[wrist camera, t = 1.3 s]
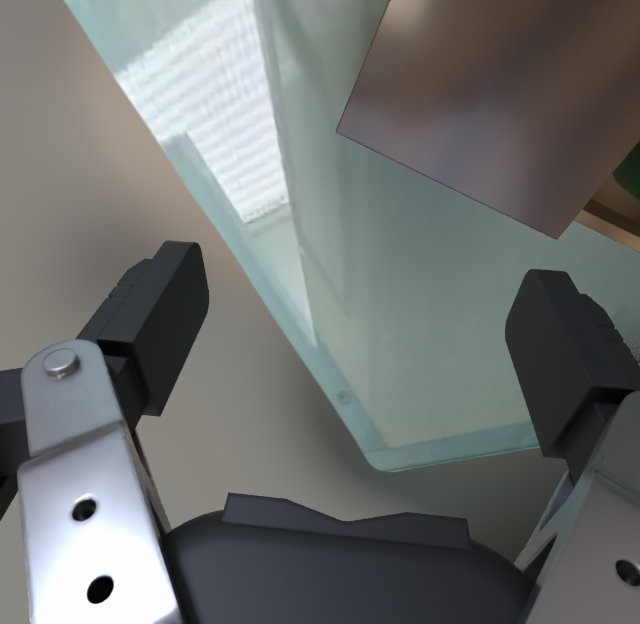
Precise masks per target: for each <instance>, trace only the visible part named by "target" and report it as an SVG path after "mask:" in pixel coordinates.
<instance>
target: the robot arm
mask: <svg viewBox="0 0 640 624" xmlns="http://www.w3.org/2000/svg"><path fill="white" fill-rule="evenodd" d="M208 307H209V289H208V285H207V279H206V273H205V268H204V262H203V257H202V252H201V248H200V246H199V244H198V243H195V242H181V241H169V240H168V241H165V242H164V243H163V245H162V246H161V247H160V249H159V250H158V252H157V253H156V255H155V256H154V257H153V259H144V260H142V261H141V262H139V263H138V264H136V265H135V266H133V267H132V268H130V269H128V270H127V272H126V273H125V274H124V275H123V277H122V278H121V279H120V281H119V282H118V283H117V287H114V289H113V290H112V291H111V293H110V294H109V298H106V299H105V300H104V302H103V303H102V305H101V306H100V307H99V308H98V310H97V311H96V312H95V314H94V315H93V316H92V318H91V319H90V320H89V322H88V323H87V324H86V326H85V327H84V328H83V330H82V331H81V332H80V333H79V335H78V336H77V338H76V339H75V340H67V341H62V342H59V343H56V344H53V345H51V346H49V347H47V348H45V349H43V350H41V351H40V352H38V353H37V354H35V355H34V356H33V357H32V358H31V359H30V360H29V361H28V362H27V363H26V365H25V366H24V368H18V369H11V370H4V371H0V521H1V519H2V517H3V516H4V514H5V512H6V510H7V509H8V507H9V505H10V504H11V502H12V500H13V499H14V497H15V495H16V493H17V492H19V503H20V514H21V524H22V536H23V547H24V557H25V569H26V579H27V591H28V602H29V613H30V624H640V366H639V364H638V363H637V361H636V359H635V358H634V356H633V355H632V353H631V351H630V350H629V348H628V347H627V345H626V343H623V339H622V337H621V335H620V334H619V332H618V331H617V329H614V327H615V326H614V324H613V323H612V321H611V319H610V318H609V316H608V315H607V313H606V311H605V310H604V309H603V308H602V307H601V306H600V305H598V304H597V303H596V302H595V301H594V300H592V299H591V298H590V297H589V296H588V295H586V294H579V292H578V290H577V288H576V287H575V285H574V283H573V282H572V280H571V278H570V276H569V275H568V274H567V273H566V272H564V271H552V270H539V269H530V270H529V271H528V272H527V273H526V275H525V277H524V279H523V281H522V284H521V286H520V288H519V291H518V293H517V296H516V298H515V300H514V303H513V305H512V308H511V310H510V312H509V315H508V317H507V321H506V326H505V339H506V343H507V346H508V349H509V352H510V356H511V359H512V362H513V365H514V368H515V371H516V374H517V377H518V380H519V383H520V386H521V389H522V392H523V395H524V398H525V401H526V405H527V408H528V411H529V414H530V417H531V420H532V423H533V426H534V429H535V432H536V435H537V438H538V441H539V444H540V447H541V450H542V453H543V457H551V458H562V459H566V462H567V465H568V468H569V469H568V471H567V472H566V473H565V474H564V476H563V477H562V479H561V481H560V483H559V485H558V487H557V489H556V491H555V493H554V494H553V497H552V499H551V500H550V502H549V504H548V506H547V508H546V510H545V512H544V514H543V516H542V517H541V519H540V521H539V523H538V525H537V527H536V529H535V531H534V532H533V534H532V536H531V538H530V540H529V541H528V543H527V545H526V547H525V548H524V550H523V551H522V553H521V554H520V556H519V557H518V558H517V560H516V562H515V563H514V564H513V563H511V562H510V561H509V560H508V559H507V558H505V557H504V556H502V555H501V554H499V553H498V552H496V551H494V550H493V549H492V548H490V547H488V546H485V545H484V544H482V543H480V542H478V541H476V540H473V539H471V538H470V537H469V530H468V523H467V519H462V518H453V517H445V516H436V515H426V514H418V513H409V512H405V513H399V514H393V515H387V516H381V517H374V518H368V519H361V520H355V521H341V520H338V519H336V518H333V517H330V516H328V515H325V514H323V513H320V512H318V511H315V510H313V509H310V508H307V507H305V506H302V505H300V504H297V503H295V502H292V501H290V500H287V499H282V498H273V497H264V496H254V495H245V494H236V493H228V497H227V501H226V504H225V508H224V510H220V511H215V512H211V513H208V514H204V515H201V516H199V517H196V518H194V519H192V520H189V521H187V522H185V523H183V524H182V525H180V526H178V527H176V528H174V529H173V530H172V528H171V526H170V523H169V521H168V518H167V515H166V513H165V510H164V508H163V505H162V503H161V500H160V497H159V494H158V491H157V488H156V485H155V483H154V480H153V477H152V474H151V471H150V468H149V465H148V462H147V459H146V456H145V453H144V450H143V447H142V444H141V441H140V438H139V435H138V432H137V430H136V426H137V423H138V422H139V420H140V418H141V416H142V415H149V416H159V417H160V416H161V414H162V411H163V409H164V407H165V405H166V403H167V400H168V398H169V396H170V394H171V392H172V390H173V387H174V385H175V383H176V381H177V379H178V376H179V374H180V372H181V370H182V368H183V365H184V363H185V361H186V359H187V357H188V354H189V352H190V350H191V348H192V346H193V343H194V341H195V339H196V337H197V335H198V332H199V330H200V328H201V326H202V324H203V322H204V319H205V317H206V314H207V311H208Z"/></svg>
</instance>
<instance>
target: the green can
mask: <svg viewBox="0 0 640 624" xmlns="http://www.w3.org/2000/svg"><path fill="white" fill-rule="evenodd" d="M612 174H613V177H614V179H615V181H616V182H617V183H618V184H619V185H620V186H621V187H622V188H623V189H625V190H626V191H627V192H628V193H630V194H631V195H632V196H633V197H635V198H636V199H637V200H639V201H640V141H639V142H638V143H637V145H636V146H635V147H634V148H633V149H632V151H631V152H630V153H629V154H628V155H627V156H626V158H625V159H624V160H623V161H622V162H621V164H620V165H619V166H618V167H617V168H616V170H615V171H614V172H613V173H612Z"/></svg>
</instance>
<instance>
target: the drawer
mask: <svg viewBox="0 0 640 624" xmlns="http://www.w3.org/2000/svg"><path fill="white" fill-rule="evenodd" d="M574 220H575V221H577V222H579V223H581V224H583V225H585V226H587V227H589V228H591V229H593V230H595V231H597V232H599V233H601V234H603V235H605V236H607V237H609V238H611V239H613V240H615V241H617V242H620V243H622V244H624V245H626V246H628V247H630V248H632V249H634V250H636V251H638V252H640V201H639V200H637V199H636V198H635V197H633V196H632V195H631V194H630V193H628V192H627V191H626V190H625V189H623V188H622V187H621V186H620V185H619V184H618V183H617V182H616V181H615V179H614V177H613V174H611V176H610V177H609V178H608V179H607V180H606V182H605V183H604V184H603V185H602V186H601V188H600V189H599V190H598V191H597V192H596V193H595V195H594V196H593V197H592V198H591V199H590V201H589V202H588V203H587V204H586V205H585V207H584V208H583V209H582V210H581V211H580V213H579V214H578V215H577V216H576V217H575V219H574Z"/></svg>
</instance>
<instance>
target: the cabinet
mask: <svg viewBox="0 0 640 624" xmlns="http://www.w3.org/2000/svg"><path fill="white" fill-rule="evenodd" d="M336 133H339V134H341V135H343V136H345V137H347V138H349V139H351V140H353V141H355V142H357V143H359V144H361V145H363V146H365V147H367V148H369V149H371V150H373V151H375V152H377V153H380V154H382V155H384V156H386V157H388V158H390V159H392V160H394V161H396V162H398V163H400V164H402V165H404V166H406V167H408V168H410V169H412V170H414V171H416V172H419V173H421V174H423V175H425V176H427V177H429V178H431V179H433V180H435V181H437V182H439V183H441V184H443V185H445V186H447V187H449V188H451V189H453V190H455V191H457V192H460V193H462V194H464V195H466V196H468V197H470V198H472V199H474V200H476V201H478V202H480V203H482V204H484V205H486V206H488V207H490V208H492V209H494V210H496V211H499V212H501V213H503V214H505V215H507V216H509V217H511V218H513V219H515V220H517V221H519V222H521V223H523V224H525V225H527V226H529V227H531V228H533V229H535V230H537V231H540V232H542V233H544V234H546V235H548V236H550V237H552V238H554V239H558V238H559V236H560V235H561V234H562V233H563V232H564V230H565V229H566V228H567V227H568V226H569V224H570V223H571V222H572V221H573V220H574V219H575V217H576V216H577V215H578V214H579V213H580V211H581V210H582V209H583V208H584V207H585V205H586V204H587V203H588V202H589V201H590V199H591V198H592V197H593V196H594V195H595V193H596V192H597V191H598V190H599V189H600V188H601V186H602V185H603V184H604V183H605V182H606V180H607V179H608V178H609V177H610V176H611V174H612V173H613V172H614V171H615V170H616V168H617V167H618V166H619V165H620V164H621V162H622V161H623V160H624V159H625V158H626V156H627V155H628V154H629V153H630V152H631V151H632V149H633V148H634V147H635V146H636V145H637V143H638V142H639V141H640V0H389V2H388V4H387V7H386V9H385V11H384V14H383V16H382V19H381V21H380V24H379V26H378V29H377V31H376V34H375V36H374V38H373V41H372V43H371V46H370V48H369V51H368V53H367V56H366V58H365V61H364V63H363V65H362V68H361V70H360V73H359V75H358V78H357V80H356V83H355V85H354V87H353V90H352V92H351V95H350V97H349V100H348V102H347V105H346V107H345V110H344V112H343V114H342V117H341V119H340V122H339V124H338V127H337V129H336Z"/></svg>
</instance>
